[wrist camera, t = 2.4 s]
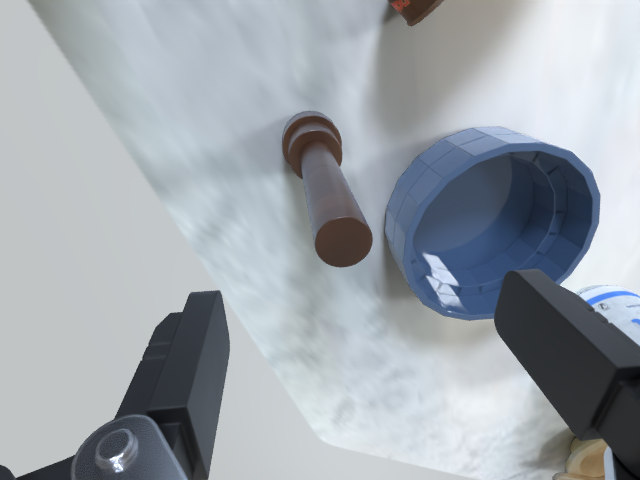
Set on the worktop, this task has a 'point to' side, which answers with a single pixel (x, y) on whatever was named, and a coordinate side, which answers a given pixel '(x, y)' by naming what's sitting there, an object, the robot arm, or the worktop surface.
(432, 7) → the tin
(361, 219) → the muddler
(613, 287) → the supplement tub
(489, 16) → the worktop surface
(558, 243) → the bowl
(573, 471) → the tableware set
